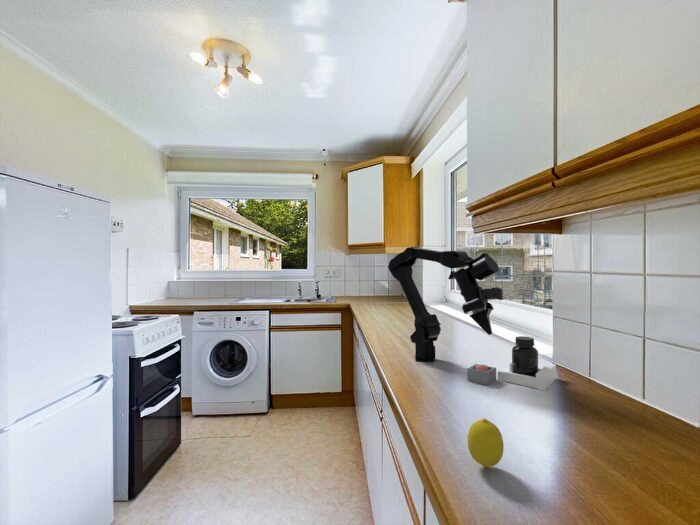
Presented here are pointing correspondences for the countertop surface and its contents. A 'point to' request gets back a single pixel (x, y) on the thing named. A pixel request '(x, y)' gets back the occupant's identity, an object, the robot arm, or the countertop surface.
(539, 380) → the white u-shaped frame
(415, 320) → the robot arm
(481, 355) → the countertop surface
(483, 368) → the plunger
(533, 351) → the supplement bottle
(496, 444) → the lemon
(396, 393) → the countertop surface
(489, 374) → the plunger block
